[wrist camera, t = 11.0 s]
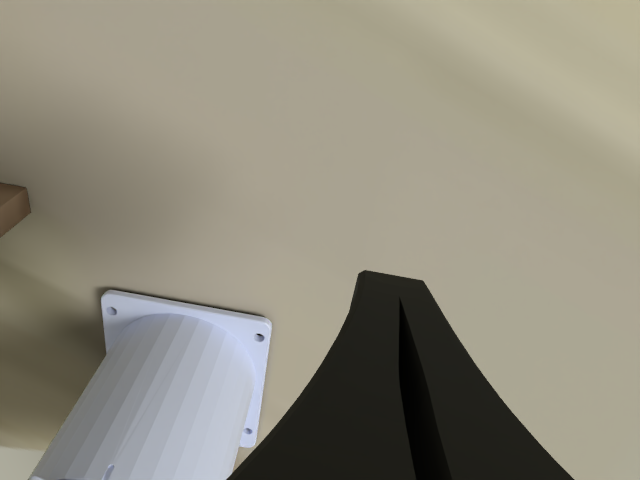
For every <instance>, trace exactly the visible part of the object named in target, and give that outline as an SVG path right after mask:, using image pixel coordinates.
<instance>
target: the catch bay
mask: <svg viewBox="0 0 640 480" xmlns="http://www.w3.org/2000/svg"><path fill="white" fill-rule="evenodd" d="M30 213H31V211H30V205H29V200H28V194H27V189H26V188H25V187H19V186H14V185H8V184H3V183H0V237H2V236H3V235H4V234H5V233H6V232H8V231H9V230H10V229H11V228H13V227H14V226H15V225H16V224H17V223H19V222H20V221H21V220H22V219H23V218H25V217H26V216H27V215H28V214H30Z"/></svg>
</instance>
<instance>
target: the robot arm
mask: <svg viewBox="0 0 640 480" xmlns="http://www.w3.org/2000/svg"><path fill="white" fill-rule="evenodd" d="M101 307H102V317H103V326H104V335H105V345H106V354H107V355H106V356H105V358H104V359H103V361H102V362H101V364H100V366H99V367H98V369H97V370H96V372H95V374H94V375H93V377H92V378H91V380H90V382H89V383H88V385H87V386H86V388H85V389H84V391H83V393H82V394H81V396H80V397H79V399H78V401H77V402H76V404H75V405H74V407H73V409H72V410H71V412H70V413H69V415H68V417H67V418H66V420H65V421H64V423H63V424H62V426H61V428H60V429H59V431H58V432H57V434H56V436H55V437H54V439H53V440H52V442H51V444H50V445H49V447H48V448H47V450H46V451H45V453H44V455H43V456H42V458H41V460H40V461H39V463H38V464H37V466H36V467H35V469H34V471H33V472H32V474H31V475H30V477H29V479H28V480H574V479H573V478H572V477H571V476H570V475H569V474H568V473H567V472H566V471H565V470H564V469H563V468H562V467H561V466H560V465H559V464H558V463H557V462H556V461H555V460H554V459H553V458H552V456H551V455H550V454H549V453H548V452H547V451H546V450H545V449H544V448H543V447H542V446H541V445H540V444H539V443H538V441H537V440H536V439H535V438H534V437H533V436H532V435H531V433H530V432H529V431H528V430H527V429H526V428H525V427H524V425H523V424H522V423H521V422H520V421H519V420H518V419H517V417H516V416H515V415H514V414H513V413H512V412H511V410H510V409H509V408H508V407H507V405H506V404H505V403H504V402H503V400H502V399H501V398H500V397H499V395H498V394H497V393H496V391H495V390H494V389H493V387H492V386H491V385H490V383H489V382H488V381H487V379H486V378H485V377H484V375H483V374H482V373H481V371H480V370H479V368H478V367H477V366H476V364H475V363H474V361H473V360H472V358H471V357H470V355H469V354H468V352H467V351H466V349H465V348H464V346H463V345H462V343H461V342H460V340H459V339H458V337H457V336H456V334H455V332H454V331H453V329H452V328H451V326H450V324H449V323H448V321H447V319H446V318H445V316H444V315H443V313H442V311H441V309H440V308H439V306H438V304H437V303H436V301H435V299H434V298H433V296H432V294H431V293H430V291H429V289H428V288H427V286H426V284H425V283H424V281H422V280H417V279H411V278H406V277H400V276H395V275H389V274H384V273H378V272H373V271H367V270H364V271H363V272H361V273H359V274H358V278H357V282H356V286H355V290H354V294H353V298H352V302H351V306H350V310H349V313H348V315H347V318H346V320H345V322H344V324H343V326H342V328H341V330H340V332H339V334H338V336H337V338H336V340H335V341H334V343H333V345H332V347H331V348H330V350H329V352H328V354H327V355H326V357H325V359H324V360H323V362H322V364H321V365H320V367H319V368H318V370H317V371H316V373H315V374H314V376H313V377H312V379H311V380H310V382H309V383H308V385H307V386H306V387H305V389H304V390H303V392H302V393H301V394H300V396H299V397H298V398H297V400H296V401H295V402H294V404H293V405H292V406H291V407H290V409H289V410H288V411H287V412H286V414H285V415H284V416H283V417H282V419H281V420H280V421H279V422H278V424H277V425H276V426H275V427H274V428H273V430H272V431H271V432H270V433H269V434H268V435H267V437H266V438H265V439H264V440H263V441H262V442H261V443H260V444H259V445H258V446H257V447H256V448H255V450H254V451H253V452H252V453H251V454H250V455H249V456H248V457H247V458H246V459H245V460H244V461H243V462H242V463H241V465H240V466H239V467H238V468H237V469H236V470H235V471H234V472H233V473H232V471H233V467H234V463H235V460H236V456H237V452H238V448H239V446H241V447H248V448H249V447H253V446H254V445H255V443H256V438H257V431H258V424H259V417H260V410H261V402H262V395H263V388H264V381H265V373H266V366H267V359H268V352H269V345H270V337H271V330H272V323H271V322H270V320H268V319H267V318H264V317H260V316H255V315H249V314H244V313H238V312H233V311H227V310H222V309H216V308H211V307H205V306H200V305H194V304H188V303H183V302H177V301H172V300H166V299H161V298H155V297H150V296H144V295H139V294H133V293H128V292H122V291H117V290H108V291H106V292H105V293H104V294H103V296H102V297H101ZM111 307H113V308H115V309H116V310H115V309H113V308H111ZM257 334H262V335H263V336H259V335H257Z"/></svg>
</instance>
